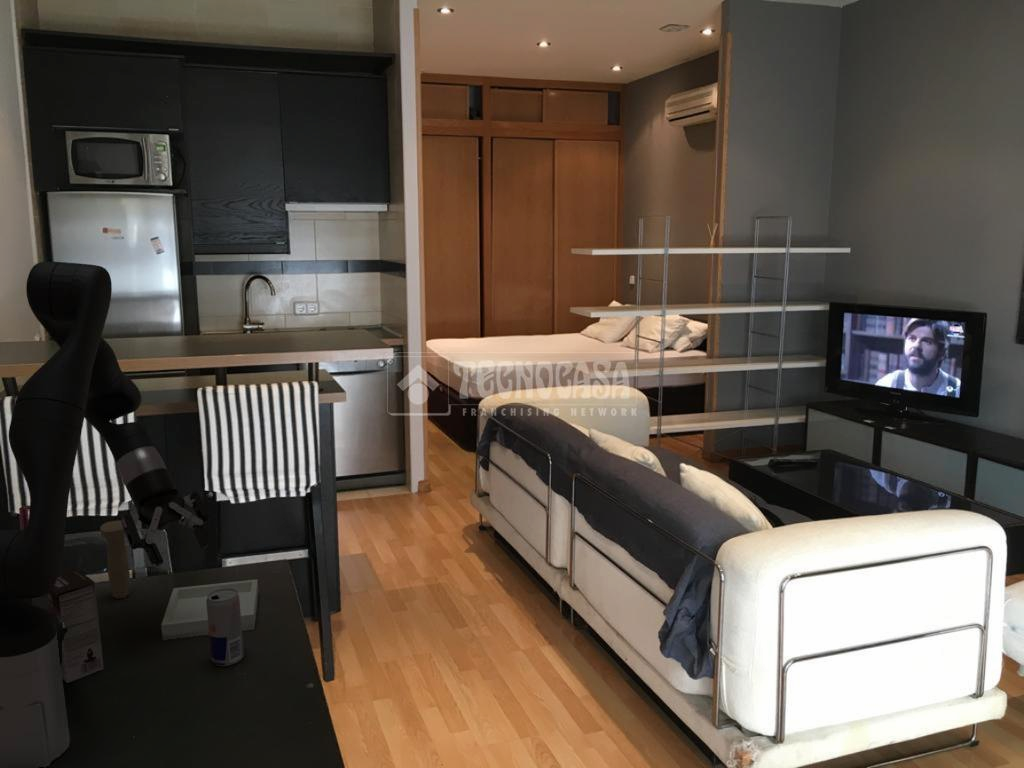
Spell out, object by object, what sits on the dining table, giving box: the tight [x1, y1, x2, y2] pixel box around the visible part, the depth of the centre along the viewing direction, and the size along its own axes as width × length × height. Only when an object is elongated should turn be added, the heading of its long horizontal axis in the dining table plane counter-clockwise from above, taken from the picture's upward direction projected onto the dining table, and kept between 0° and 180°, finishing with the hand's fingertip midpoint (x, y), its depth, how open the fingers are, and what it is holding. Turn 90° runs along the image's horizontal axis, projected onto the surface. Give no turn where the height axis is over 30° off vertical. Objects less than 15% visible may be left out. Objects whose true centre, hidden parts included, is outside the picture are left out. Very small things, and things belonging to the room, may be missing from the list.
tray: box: [160, 578, 259, 641], centre depth 161 cm, size 16×16×3 cm
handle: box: [99, 519, 131, 600], centre depth 169 cm, size 5×6×15 cm
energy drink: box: [206, 588, 245, 667], centre depth 144 cm, size 5×5×12 cm
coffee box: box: [47, 566, 105, 684], centre depth 142 cm, size 9×6×16 cm
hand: (183, 555), depth 149 cm, fingers open, 8 cm apart
